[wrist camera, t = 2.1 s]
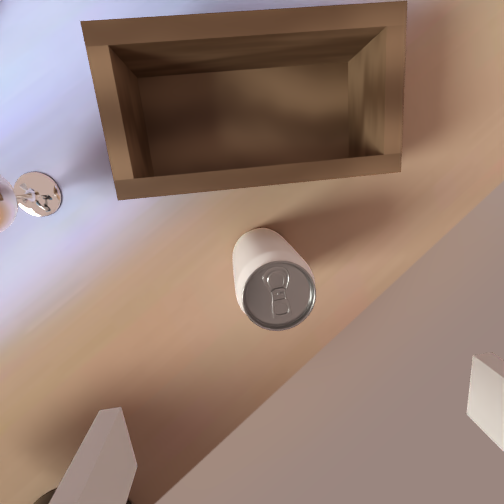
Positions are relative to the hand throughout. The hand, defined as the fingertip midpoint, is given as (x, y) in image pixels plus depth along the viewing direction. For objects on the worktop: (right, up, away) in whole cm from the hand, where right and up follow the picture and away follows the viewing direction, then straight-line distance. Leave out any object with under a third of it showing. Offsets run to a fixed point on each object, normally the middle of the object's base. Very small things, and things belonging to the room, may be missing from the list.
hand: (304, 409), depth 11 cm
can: (-1, +6, +23) cm, 23 cm away
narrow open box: (-2, +19, +19) cm, 27 cm away
